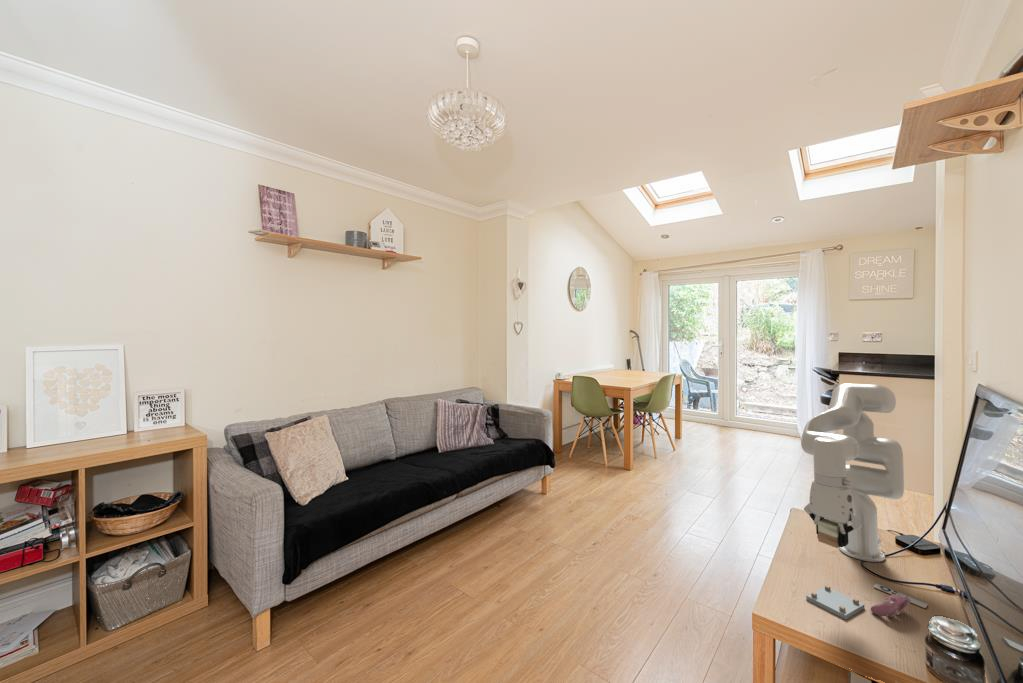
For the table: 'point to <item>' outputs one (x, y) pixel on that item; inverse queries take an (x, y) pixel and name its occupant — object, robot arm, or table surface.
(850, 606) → the board
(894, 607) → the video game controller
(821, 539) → the block stack
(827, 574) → the table surface
